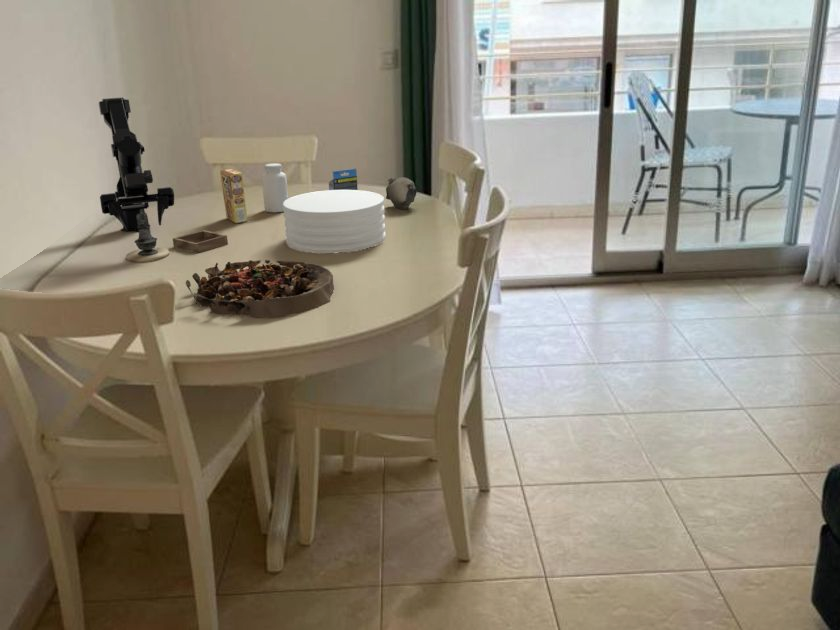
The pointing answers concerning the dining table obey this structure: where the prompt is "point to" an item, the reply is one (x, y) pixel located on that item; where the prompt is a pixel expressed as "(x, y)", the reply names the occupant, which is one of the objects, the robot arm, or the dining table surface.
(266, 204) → the pill bottle
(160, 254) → the coaster
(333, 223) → the plate stack
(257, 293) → the food dish
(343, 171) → the label tape box
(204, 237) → the bin frame
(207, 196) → the dining table surface
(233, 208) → the candy box
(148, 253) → the grey tall carved piece
